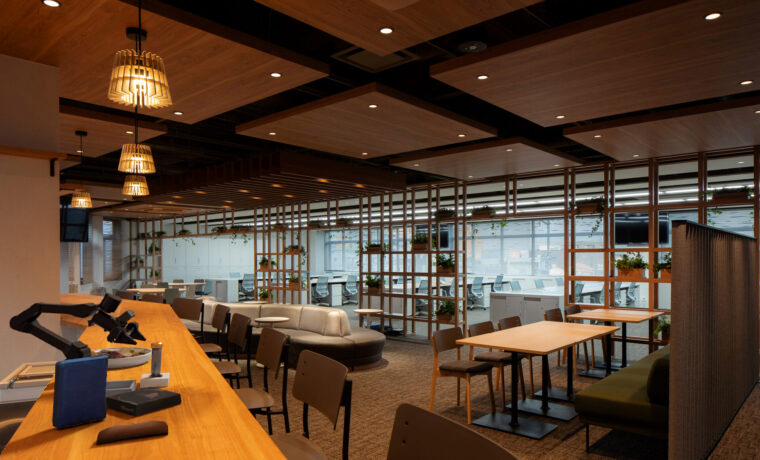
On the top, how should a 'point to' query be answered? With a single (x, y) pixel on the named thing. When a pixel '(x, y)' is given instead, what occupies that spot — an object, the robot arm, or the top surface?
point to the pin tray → (119, 387)
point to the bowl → (124, 356)
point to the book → (80, 391)
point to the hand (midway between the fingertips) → (141, 342)
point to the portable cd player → (143, 401)
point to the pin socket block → (154, 380)
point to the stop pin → (156, 359)
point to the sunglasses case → (132, 431)
